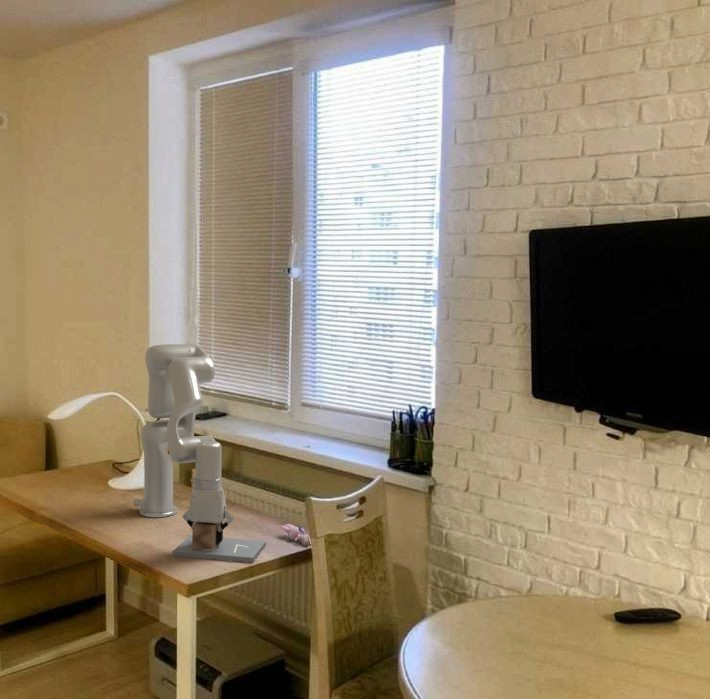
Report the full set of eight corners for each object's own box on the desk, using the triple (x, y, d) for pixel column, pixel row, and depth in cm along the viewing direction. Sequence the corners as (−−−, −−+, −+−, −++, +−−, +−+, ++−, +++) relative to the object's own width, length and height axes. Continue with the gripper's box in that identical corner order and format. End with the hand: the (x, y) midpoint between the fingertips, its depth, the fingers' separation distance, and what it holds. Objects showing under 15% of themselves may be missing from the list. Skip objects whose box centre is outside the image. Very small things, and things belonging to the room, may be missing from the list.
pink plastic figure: (319, 548, 239) (289, 528, 249) (321, 531, 237) (291, 511, 248) (303, 553, 234) (273, 532, 245) (306, 535, 233) (276, 515, 244)
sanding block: (192, 549, 226) (192, 526, 226) (203, 538, 236) (203, 516, 236) (212, 551, 226) (212, 528, 225) (222, 539, 236) (222, 517, 235)
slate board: (172, 556, 225) (172, 551, 225) (189, 540, 239) (189, 535, 239) (253, 562, 222) (253, 557, 222) (265, 546, 236) (265, 541, 236)
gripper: (175, 484, 227) (175, 544, 228) (233, 488, 224) (232, 549, 226) (184, 478, 234) (184, 536, 236) (240, 481, 232) (239, 540, 233)
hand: (207, 542), depth 231 cm, fingers closed on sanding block, 6 cm apart
